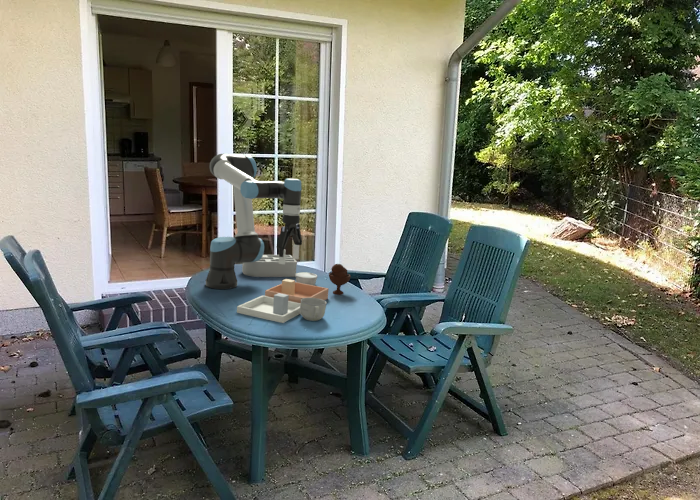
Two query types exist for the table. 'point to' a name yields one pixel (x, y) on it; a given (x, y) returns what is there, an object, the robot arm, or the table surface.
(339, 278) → the ice cream bowl
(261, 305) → the parts tray
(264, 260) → the grey compartment organizer
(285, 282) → the tall cardboard carton
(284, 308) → the pale grey box block
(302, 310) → the teacup
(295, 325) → the table surface
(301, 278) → the ramekin
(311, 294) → the orange square tray
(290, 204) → the robot arm
